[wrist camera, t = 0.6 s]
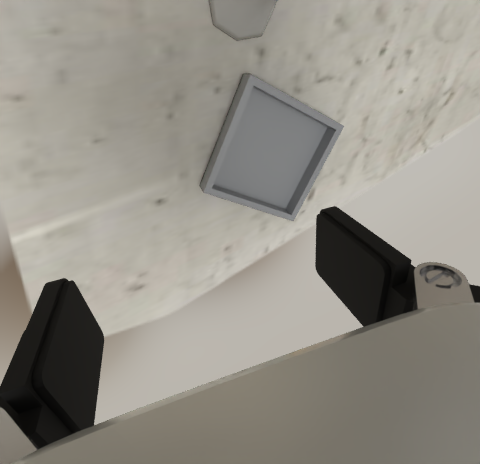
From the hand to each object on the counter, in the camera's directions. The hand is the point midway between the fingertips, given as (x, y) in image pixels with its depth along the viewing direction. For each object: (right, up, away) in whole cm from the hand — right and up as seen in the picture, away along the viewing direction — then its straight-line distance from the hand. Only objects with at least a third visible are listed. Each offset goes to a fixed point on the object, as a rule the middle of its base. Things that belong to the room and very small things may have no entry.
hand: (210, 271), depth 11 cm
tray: (+5, +12, +27) cm, 30 cm away
